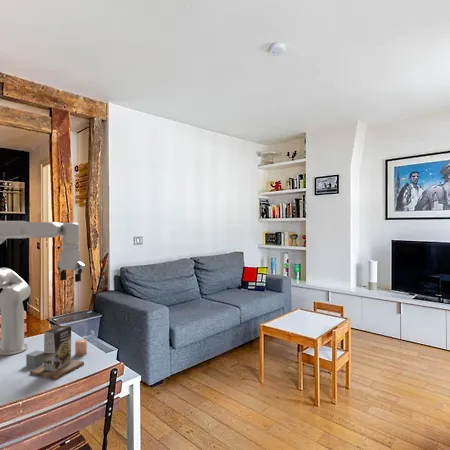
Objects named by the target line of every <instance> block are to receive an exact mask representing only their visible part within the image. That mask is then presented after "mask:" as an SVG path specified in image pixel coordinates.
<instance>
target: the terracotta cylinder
mask: <svg viewBox="0 0 450 450" xmlns="http://www.w3.org/2000/svg"><path fill="white" fill-rule="evenodd" d="M74 343H75V346H74V347H75V348H74V349H75V350H74V353H75V354H74V355H75V356H76V357H81V356H85V355H86V354H88V348H87V347H88V341H87V339H78V340H75V342H74Z"/></svg>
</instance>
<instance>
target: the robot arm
mask: <svg viewBox="0 0 450 450" xmlns="http://www.w3.org/2000/svg"><path fill="white" fill-rule="evenodd" d="M56 237H57V238H59V237H62V239H61V240H62V242H61V244H62V245H61V249H60V254H59V259H58V260H59V261H58V262H57V263H56V266H57V269H58V272H59V277H60V278H59V280H60V282H61V281H65V280H67V272H66V271H73V270H74V282H75V283H79V282H82V273H83V271H84V269H85V267H86V265H85V264H84V263H83V262H82V258H81V251H80V225H79V223H78V222H58V221H27V220H0V245H1V244H3V243H4V242H5V241H6V240H7V239H27V238H28V239H35V238H36V239H39V238H40V239H43V238H44V239H48V238H56ZM0 289H2V290H1V292H0V356H10V355H16V354H19V353H23V352H24V351H26V350H27V349H28V348H29V347H28V344H27V343H25V309H24V304H23V301H25V300H26V299H28V298H29V296H30V295H31V293H32V292H31V291H32V290H31V286H30V285H29V283H27V282H26V281H25V280H24V278H22V277H21V276H19V274H17V273H16V272H15V271H14V270H13V269H11V268H8V267H0Z"/></svg>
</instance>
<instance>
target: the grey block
mask: <svg viewBox="0 0 450 450" xmlns="http://www.w3.org/2000/svg"><path fill="white" fill-rule="evenodd" d="M25 355H26V356H25V357H26V359H25V360H26V361H25V363H26V364H25V365H26V367H29V368H30V367H31V368H34V369H35V368H38V367H40V366H42V365H44V350H43V351H41V350H37V349H36V350H34V351H32V352H30V353H27V354H25Z"/></svg>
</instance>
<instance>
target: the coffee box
mask: <svg viewBox="0 0 450 450" xmlns="http://www.w3.org/2000/svg"><path fill="white" fill-rule="evenodd" d="M43 339H44V340H43V352H44V363H43V365H44V370H49V371H57V370H59V369H61V368H63V367H64V366H66V365H68V364H69V363H71V359H72V326H70V325H57V326H55V327H53V328H50V329H48V330H46V331H44V336H43Z"/></svg>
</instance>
